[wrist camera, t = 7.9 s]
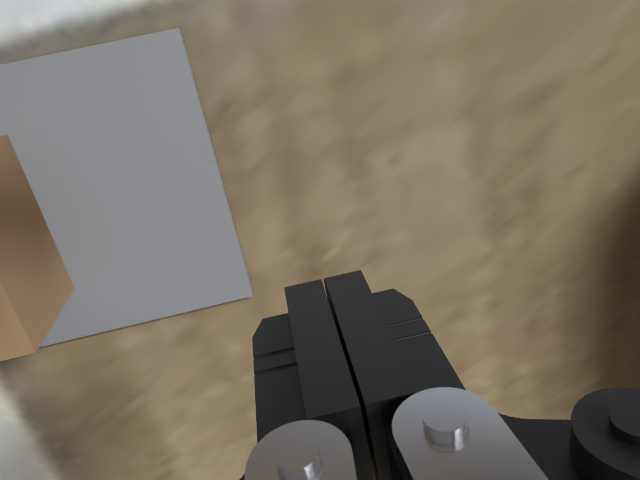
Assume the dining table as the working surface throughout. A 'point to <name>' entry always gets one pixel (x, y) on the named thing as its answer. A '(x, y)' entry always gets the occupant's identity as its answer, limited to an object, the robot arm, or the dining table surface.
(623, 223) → the dining table surface
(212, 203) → the mat
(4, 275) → the block
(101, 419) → the dining table surface
